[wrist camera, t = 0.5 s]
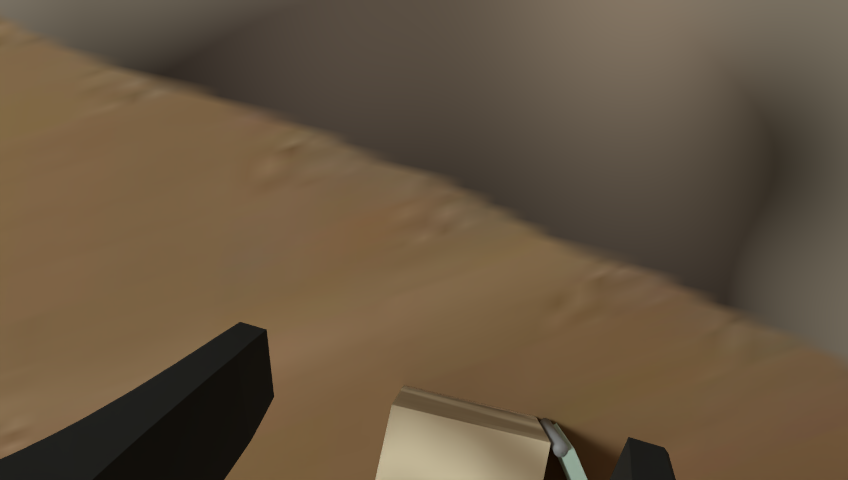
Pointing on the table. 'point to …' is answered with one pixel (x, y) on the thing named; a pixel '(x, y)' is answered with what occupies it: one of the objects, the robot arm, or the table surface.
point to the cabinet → (459, 441)
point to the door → (563, 451)
